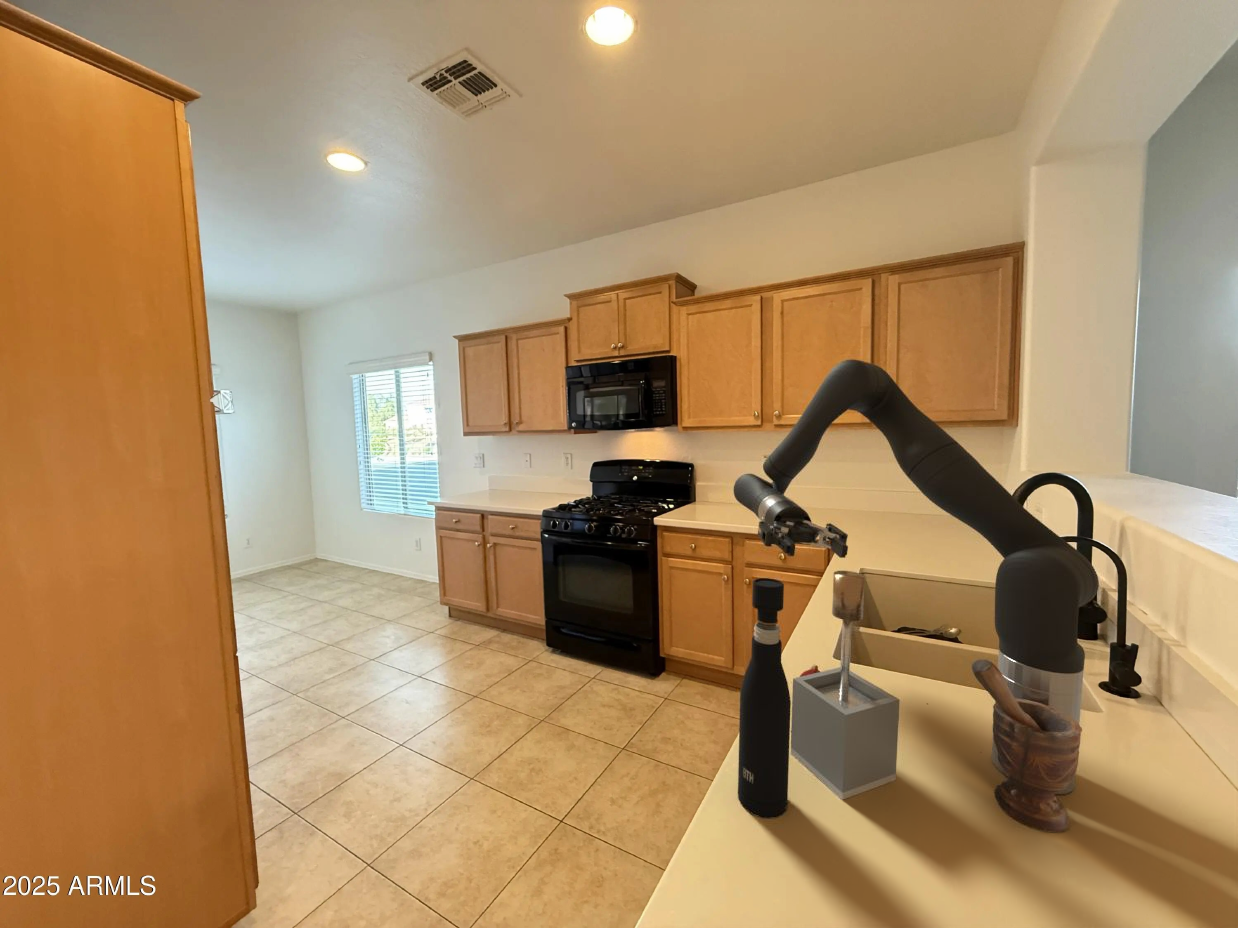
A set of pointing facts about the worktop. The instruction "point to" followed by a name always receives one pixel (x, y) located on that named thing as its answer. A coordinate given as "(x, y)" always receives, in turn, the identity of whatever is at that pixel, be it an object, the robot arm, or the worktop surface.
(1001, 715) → the mortar and pestle
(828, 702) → the grey open box
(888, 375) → the robot arm
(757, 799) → the black water bottle
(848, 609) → the plunger
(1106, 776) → the worktop surface
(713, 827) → the worktop surface
